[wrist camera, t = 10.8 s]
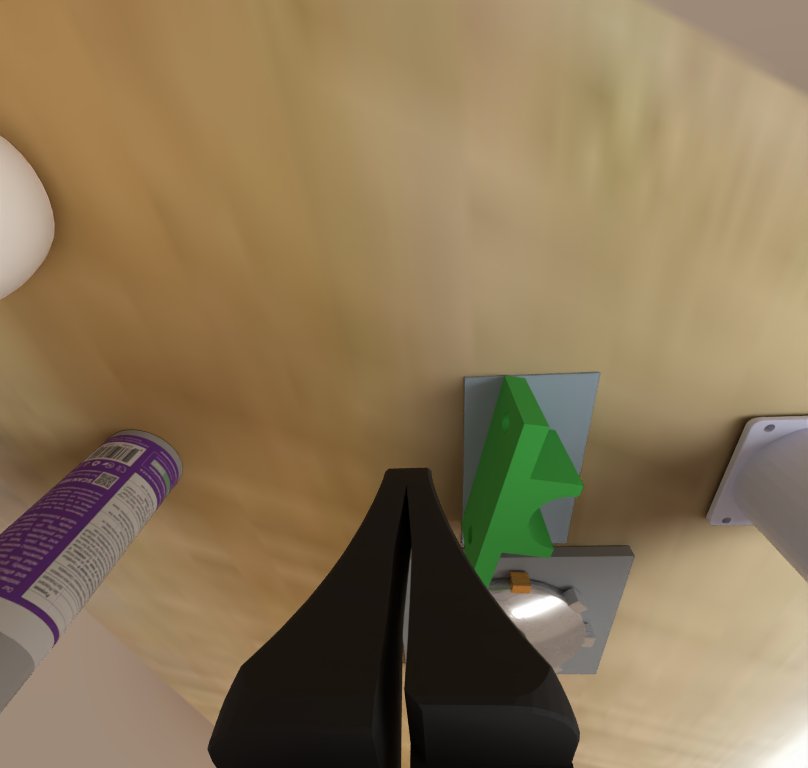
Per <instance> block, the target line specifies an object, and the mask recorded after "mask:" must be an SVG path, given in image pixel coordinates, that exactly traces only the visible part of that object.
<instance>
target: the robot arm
mask: <svg viewBox="0 0 808 768" xmlns="http://www.w3.org/2000/svg"><path fill="white" fill-rule="evenodd" d="M766 426H767V427H766ZM706 519H707V521H708V522H709V523H710V524H711V525H715V526H722V525H755V527H756V528H757V529H758V530H759V531H760V532H761V533H762V534H763V535H764V536H765V537H766V538H767V539H768V541H769V542H770V543H771V544H772V545H773V546H774V547H775V548H776V549H777V550H778V551H779V552H780V553H781V555H782V556H783V557H784V558H785V559H786V560H787V561H788V562H789V563H790V564H791V565H792V566H793V567H794V569H795V570H796V571H797V572H798V573H799V574H800V575H801V576H802V577H803V578H804V579H805V580H806V582H807V583H808V416H784V417H757V418H753V419H751V420H749V421H748V422H747V424H746V425H745V427H744V430H743V432H742V434H741V437H740V439H739V441H738V444H737V446H736V448H735V451H734V453H733V455H732V458H731V460H730V462H729V465H728V467H727V469H726V472H725V474H724V476H723V479H722V481H721V483H720V486H719V488H718V490H717V493H716V495H715V497H714V500H713V502H712V504H711V507H710V509H709V511H708V513H707V516H706ZM411 549H412V556H411V582H410V605H409V623H408V641H407V657H406V673H405V687H404V691H405V700H406V708H407V716H408V725H409V733H410V741H411V751H410V768H574V767H573V764H572V760H573V757H574V754H575V751H576V749H577V746H578V743H579V738H580V731H579V728H578V724H577V721H576V718H575V716H574V713H573V710H572V708H571V705H570V703H569V700H568V698H567V696H566V694H565V692H564V690H563V688H562V685H561V683H560V682H559V680H558V678H557V676H556V674H555V672H554V670H553V668H552V666H551V665H550V664H549V663H548V662H547V661H546V660H545V658H544V657H543V656H542V655H541V654H540V653H539V652H538V651H537V650H536V649H535V648H534V646H533V645H532V644H531V643H530V642H529V641H528V640H527V638H526V637H525V636H524V635H523V634H522V633H521V631H520V630H519V629H518V628H517V627H516V625H515V624H514V623H513V622H512V621H511V619H510V618H509V617H508V616H507V614H506V613H505V612H504V610H503V609H502V608H501V606H500V605H499V604H498V602H497V601H496V600H495V598H494V597H493V596H492V594H491V593H490V592H489V590H488V589H487V588H486V586H485V585H484V583H483V582H482V580H481V579H480V577H479V576H478V574H477V573H476V571H475V570H474V568H473V566H472V565H471V563H470V562H469V560H468V558H467V557H466V555H465V553H464V551H463V550H462V548H461V546H460V544H459V542H458V541H457V539H456V537H455V535H454V533H453V531H452V529H451V527H450V525H449V523H448V521H447V518H446V516H445V514H444V512H443V509H442V507H441V504H440V502H439V499H438V496H437V494H436V491H435V488H434V484H433V480H432V475H431V470H430V469H428V468H400V469H388V470H387V471H386V472H385V475H384V478H383V481H382V483H381V486H380V488H379V490H378V493H377V495H376V497H375V499H374V501H373V503H372V505H371V507H370V509H369V511H368V513H367V515H366V517H365V519H364V520H363V522H362V524H361V526H360V527H359V529H358V531H357V532H356V534H355V536H354V537H353V539H352V541H351V542H350V544H349V545H348V547H347V548H346V550H345V551H344V553H343V554H342V556H341V557H340V559H339V560H338V562H337V563H336V564H335V566H334V567H333V569H332V570H331V571H330V573H329V574H328V575H327V576H326V578H325V579H324V580H323V581H322V583H321V584H320V585H319V586H318V588H317V589H316V590H315V591H314V593H313V594H312V595H311V596H310V597H309V599H308V600H307V601H306V602H305V603H304V604H303V605H302V606H301V607H300V608H299V610H298V611H297V612H296V613H295V614H294V615H293V616H292V617H291V618H290V619H289V620H288V621H287V622H286V624H285V625H284V626H283V627H282V628H281V629H280V630H279V631H278V632H277V633H276V634H275V635H274V636H273V637H272V638H271V639H270V640H269V641H267V642H266V643H265V644H264V645H263V646H262V647H261V648H260V649H259V650H258V651H257V652H256V653H255V654H254V655H253V656H252V657H251V658H249V659H248V660H247V661H246V662H245V663H244V664H243V665H242V666H241V668H240V670H239V671H238V673H237V675H236V677H235V679H234V681H233V683H232V685H231V688H230V690H229V692H228V694H227V696H226V698H225V700H224V703H223V705H222V708H221V710H220V713H219V716H218V719H217V722H216V725H215V727H214V730H213V733H212V736H211V739H210V741H209V745H208V752H209V754H210V757H211V759H212V762H213V763H214V765H215V766H216V767H217V768H401V727H402V656H403V625H404V612H405V603H406V593H407V583H408V574H409V564H410V554H411Z"/></svg>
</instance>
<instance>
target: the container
mask: <svg viewBox="0 0 808 768" xmlns="http://www.w3.org/2000/svg"><path fill="white" fill-rule="evenodd" d="M182 471H183V467H182V462H181V459H180V457H179V456H178V454H177V452H176V451H175V450H174V449H173V448H172V447H171V446H170V445H169V444H168V443H167V442H165V441H164V440H162V439H161V438H159V437H157V436H155V435H153V434H150V433H147V432H143V431H138V430H125V431H121V432H118V433H116V434H114V435H113V436H111V437H110V438H109V439H108V440H107V441H105V442H104V443H103V444H102V445H101V446H100V447H99V448H97V449H96V450H95V451H94V452H93V453H92V454H91V455H90V456H88V457H87V458H86V459H85V460H84V461H83V462H82V463H81V464H79V465H78V466H77V467H76V468H75V469H74V470H73V471H71V472H70V473H69V474H68V475H67V476H66V477H65V478H64V479H62V480H61V481H60V482H59V483H58V484H57V485H56V486H55V487H53V488H52V489H51V490H50V491H49V492H48V493H47V494H46V495H44V496H43V497H42V498H41V499H40V500H39V501H38V502H36V503H35V504H34V505H33V506H32V507H31V508H30V509H29V510H27V511H26V512H25V513H24V514H23V515H22V516H21V517H20V518H18V519H17V520H16V521H15V522H14V523H13V524H12V525H10V526H9V527H8V528H7V529H6V530H5V531H4V532H3V533H1V534H0V713H1V712H2V711H3V710H4V708H5V707H6V706H7V704H8V703H9V702H10V701H11V700H12V698H13V697H14V696H15V694H16V693H17V692H18V691H19V689H20V688H21V687H22V686H23V684H24V683H25V682H26V680H27V679H28V678H29V677H30V675H31V674H32V673H33V672H34V670H35V669H36V668H37V666H38V665H39V664H40V663H41V661H42V660H43V659H44V658H45V656H46V655H47V654H48V652H49V651H50V650H51V649H52V648H53V646H54V645H55V644H56V642H57V641H58V640H59V638H60V637H61V636H62V634H63V633H64V632H65V631H66V629H67V628H68V626H69V625H70V624H71V623H72V621H73V620H74V619H75V617H76V616H77V615H78V613H79V612H80V611H81V609H82V608H83V607H84V605H85V604H86V603H87V601H88V600H89V599H90V597H91V596H92V595H93V593H94V592H95V591H96V589H97V588H98V587H99V586H100V584H101V583H102V582H103V580H104V579H105V578H106V576H107V575H108V574H109V572H110V571H111V570H112V568H113V567H114V566H115V564H116V563H117V562H118V560H119V559H120V558H121V556H122V555H123V554H124V552H125V551H126V550H127V548H128V547H129V546H130V544H131V543H132V542H133V540H134V539H135V538H136V536H137V535H138V534H139V532H140V531H141V530H142V529H143V527H144V526H145V525H146V523H147V522H148V521H149V519H150V518H151V517H152V515H153V514H154V513H155V511H156V510H157V509H158V507H159V506H160V505H161V503H162V502H163V501H164V499H165V498H166V497H167V495H168V494H169V493H170V491H171V490H172V489H173V487H174V486H175V485H176V483H177V482H178V480H179V479H180V477H181V475H182Z"/></svg>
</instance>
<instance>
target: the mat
mask: <svg viewBox="0 0 808 768" xmlns="http://www.w3.org/2000/svg"><path fill="white" fill-rule="evenodd" d="M505 376H512V377H520V378H525V379H526V381H527V383H528V385H529V387H530V389H531V391H532V393H533V395H534V397H535V399H536V401H537V403H538V405H539V407H540V409H541V411H542V413H543V415H544V417H545V419H546V421H547V423H548V425H549V427H550V428H549V429H551V430H556V432H557V434H558V436H559V438H560V440H561V442H562V444H563V446H564V448H565V450H566V451H567V453H568V455H569V457H570V459H571V461H572V463H573V465H574V467H575V469H576V471H577V473H578V475H579V477H580V472H581V467H582V462H583V457H584V452H585V447H586V442H587V437H588V432H589V427H590V422H591V417H592V412H593V407H594V402H595V397H596V392H597V387H598V382H599V377H600V372H581V373H555V374H528V375H505ZM503 379H504V375H502V376H475V377H465V387H464V453H463V516H464V512H465V509H466V505H467V502H468V499H469V495H470V492H471V488H472V485H473V481H474V478H475V475H476V471H477V468H478V464H479V461H480V457H481V454H482V451H483V447H484V444H485V440H486V437H487V433H488V430H489V427H490V423H491V420H492V416H493V413H494V410H495V406H496V403H497V399H498V396H499V392H500V389H501V386H502V382H503ZM574 502H575V497H564V498H559V499H555V500H552V501H550V502H548V503H546V504H544V505H542V506H541V507H539V508H540V510H541V513H542V516H543V519H544V522H545V524H546V527H547V530H548V533H549V536H550V539H551V541H552V543H566V541H567V537H568V532H569V527H570V522H571V517H572V512H573V507H574ZM462 545H464V539H463V531H462Z"/></svg>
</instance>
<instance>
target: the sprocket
mask: <svg viewBox="0 0 808 768" xmlns="http://www.w3.org/2000/svg"><path fill="white" fill-rule="evenodd" d="M486 588H487V589H488V590H489V592H490V593H491V594H492V596H493V597H494V598H495V600H496V601H497V602H498V604H499V605H500V606H501V608H502V609H503V610H504V612H505V613H506V614H507V616H508V617H509V618H510V619H511V621H512V622H513V623H514V624H515V625H516V627H517V628H518V629H519V630H520V631H521V633H522V634H523V635H524V636H525V637H526V638H527V640H528V641H529V642H530V643H531V644H532V645H533V646H534V648H535V649H536V650H537V651H538V652H539V653H540V654H541V655H542V656H543V657H544V658H545V660H546V661H547V662H548V663H549V664H550V665H551V666H552V668H553V670H554V672H555V673H558V672H560V671H563V669H562V665H561V664H562V663H564V662H566V661H567V660H569V659H570V658H571V657H573V656H574V655H575V654H576V653H577V652H578V650H579V649H580V648H581V647H592V646H593V644H594V641H595V639H596V637H595V634H594V632H593V629H592V626H591V624H584V622H583V619H582V617H581V614H580V613H581V612H583V611H586V610H588V608H587V606H586V603H585V601H584V598H583V596H582V595H581V594H580V593H579V592H578V591H577V590H575V589H574V588H572V589H569V590H567V591H565V592H562V591H561V590H559V589H557V588H555V587H552V586H550V585H547V584H544V583H540V582H535V581H530V578H529V575H528V573H523V572H510V576H509V579H505V580H494V581H491V582H490V585H489V587H486Z"/></svg>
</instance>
